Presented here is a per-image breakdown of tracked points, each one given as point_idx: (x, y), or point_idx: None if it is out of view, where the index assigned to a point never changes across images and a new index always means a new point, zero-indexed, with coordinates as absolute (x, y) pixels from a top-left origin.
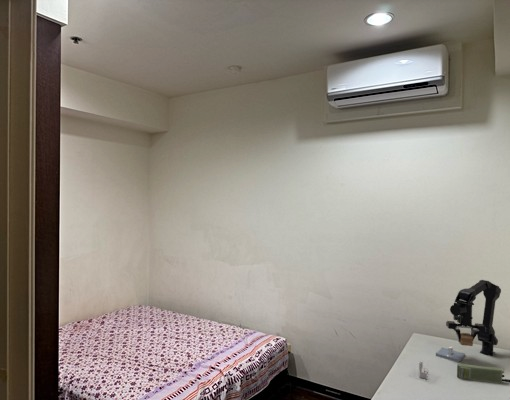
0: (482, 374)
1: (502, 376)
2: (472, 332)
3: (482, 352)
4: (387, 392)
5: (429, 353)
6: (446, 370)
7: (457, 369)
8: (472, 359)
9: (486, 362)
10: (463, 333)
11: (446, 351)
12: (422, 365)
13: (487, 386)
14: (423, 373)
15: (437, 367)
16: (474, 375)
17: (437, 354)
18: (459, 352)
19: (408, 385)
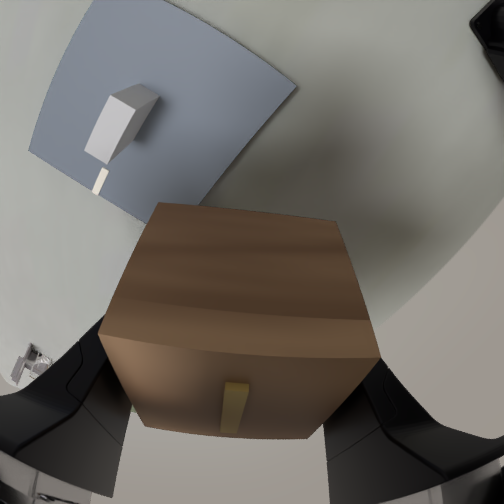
0: None
1: None
2: (354, 465)
3: (484, 38)
4: (12, 382)
5: (12, 108)
6: (94, 320)
7: None
8: (325, 150)
9: (401, 199)
10: (213, 376)
11: (111, 71)
12: (19, 367)
13: None
14: (35, 369)
15: (58, 297)
16: None
17: (41, 153)
18: (244, 63)
19: (27, 373)
